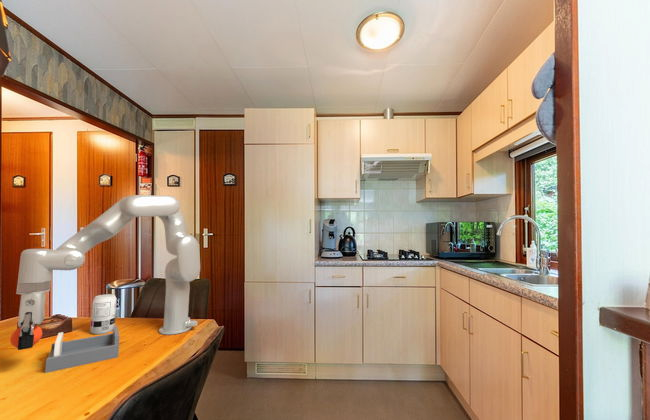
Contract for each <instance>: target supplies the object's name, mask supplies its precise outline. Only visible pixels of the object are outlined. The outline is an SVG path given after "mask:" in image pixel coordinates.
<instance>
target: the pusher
mask: <svg viewBox="0 0 650 420" xmlns="http://www.w3.org/2000/svg"><path fill="white" fill-rule="evenodd" d="M63 339H64V332H63V331H62V332H58V333H57V337H56V339H55V342H54V343H55V348H54V356H60V355H61V352H62V342H64V341H63Z"/></svg>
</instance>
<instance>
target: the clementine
mask: <svg viewBox="0 0 650 420" xmlns="http://www.w3.org/2000/svg"><path fill="white" fill-rule="evenodd" d="M29 328H31V327H29ZM20 331H21V327H19V328H17V329H15V330H14V332H13V333H12V334H11V336H10V338H9V339H10V344H11V345H12V346H13V347H14V348H16V349H17V348H18V340H19V336H20ZM33 334H34V341H33V346H34V345H36V344H38V343H39V341H40V340H41V339H42V336H43V330H42V327H41V325H40V324H39V325H38V326H37V325H35V326H34V331H33Z"/></svg>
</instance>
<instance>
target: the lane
mask: <svg viewBox="0 0 650 420" xmlns="http://www.w3.org/2000/svg"><path fill="white" fill-rule="evenodd" d="M54 348H55V342H54V343H52V344H51V349H50V352H49V354H48V357H46V360H45V361H46V362H45V370H44V373H45V374H46V373H51V372H55V371H61V370H65V369H70V368H74V367H79V366H83V365H88V364H92V363H98V362H102V361H107V360H111V359H117V358H119V353H120V351H119V350H120V332H119V326H118V325H115V327H113V330H112V332H111V333H105V334H99V335H95V336H90V337H88V336H87V337H82V338H79V339H73V340H65V341H63V342H62V352H61V355H60V356H54Z"/></svg>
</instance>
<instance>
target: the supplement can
mask: <svg viewBox="0 0 650 420" xmlns="http://www.w3.org/2000/svg"><path fill="white" fill-rule="evenodd" d="M117 300H118V298H117V296H116V294H112V293H107V294H99V295H96V296H94V298H93V300H92V303H91V304H92V306H91V318H90V326H89V327H90V329H89V332H90V334H92V335H105V334H109V333H110V332H113V327H115V326H116V315H117V314H116V313H117Z"/></svg>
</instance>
